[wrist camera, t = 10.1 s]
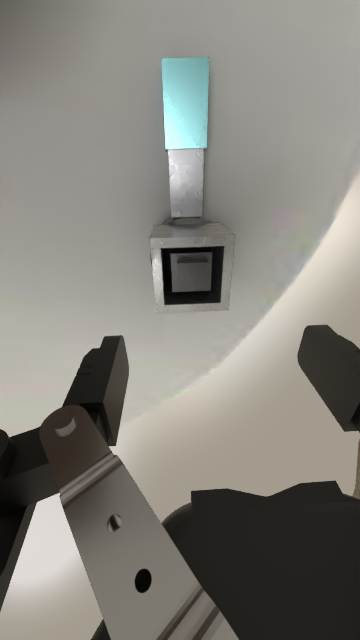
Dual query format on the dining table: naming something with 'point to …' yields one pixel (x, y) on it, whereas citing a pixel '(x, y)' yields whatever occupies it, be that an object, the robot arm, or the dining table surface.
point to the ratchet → (186, 166)
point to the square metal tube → (220, 271)
